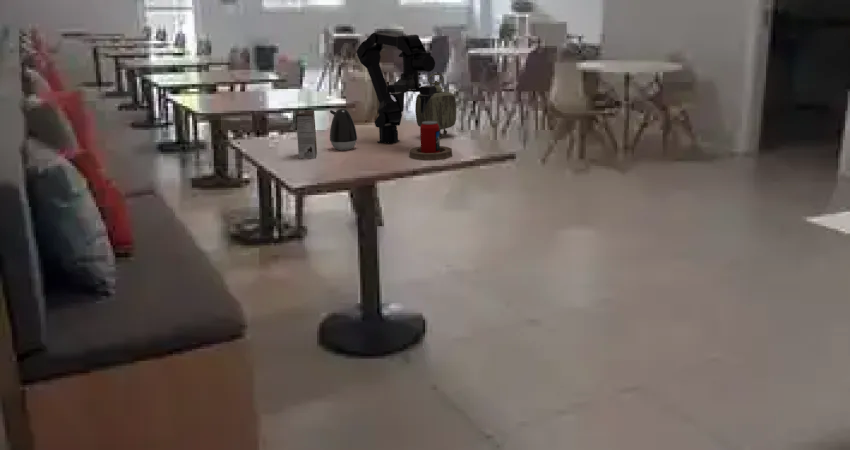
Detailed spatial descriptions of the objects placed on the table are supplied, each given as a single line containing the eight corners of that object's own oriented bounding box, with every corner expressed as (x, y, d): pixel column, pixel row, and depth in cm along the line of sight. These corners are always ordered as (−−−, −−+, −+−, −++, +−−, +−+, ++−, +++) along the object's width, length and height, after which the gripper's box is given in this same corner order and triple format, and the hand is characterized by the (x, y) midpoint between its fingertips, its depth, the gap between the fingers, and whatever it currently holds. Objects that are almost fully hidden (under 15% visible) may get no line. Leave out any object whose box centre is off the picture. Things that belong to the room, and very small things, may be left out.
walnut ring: (401, 157, 291) (401, 152, 291) (424, 149, 303) (424, 144, 303) (437, 161, 284) (437, 155, 283) (459, 153, 296) (459, 147, 295)
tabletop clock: (446, 133, 334) (445, 71, 327) (459, 136, 327) (458, 73, 319) (416, 137, 327) (414, 74, 320) (427, 141, 319) (426, 76, 312)
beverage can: (442, 156, 292) (442, 122, 288) (425, 158, 289) (424, 124, 286) (435, 152, 298) (434, 119, 294) (418, 154, 295) (417, 121, 292)
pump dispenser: (339, 145, 315) (337, 105, 311) (362, 147, 311) (360, 107, 306) (324, 150, 307) (322, 109, 302) (348, 152, 302) (345, 111, 298)
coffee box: (299, 153, 302) (296, 110, 297) (317, 153, 302) (314, 109, 298) (298, 159, 293) (295, 114, 289) (316, 158, 294) (313, 113, 289)
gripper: (377, 71, 299) (379, 114, 303) (420, 73, 289) (421, 117, 294) (394, 68, 308) (395, 109, 312) (436, 70, 298) (437, 112, 303)
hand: (412, 112), depth 305 cm, fingers open, 9 cm apart
